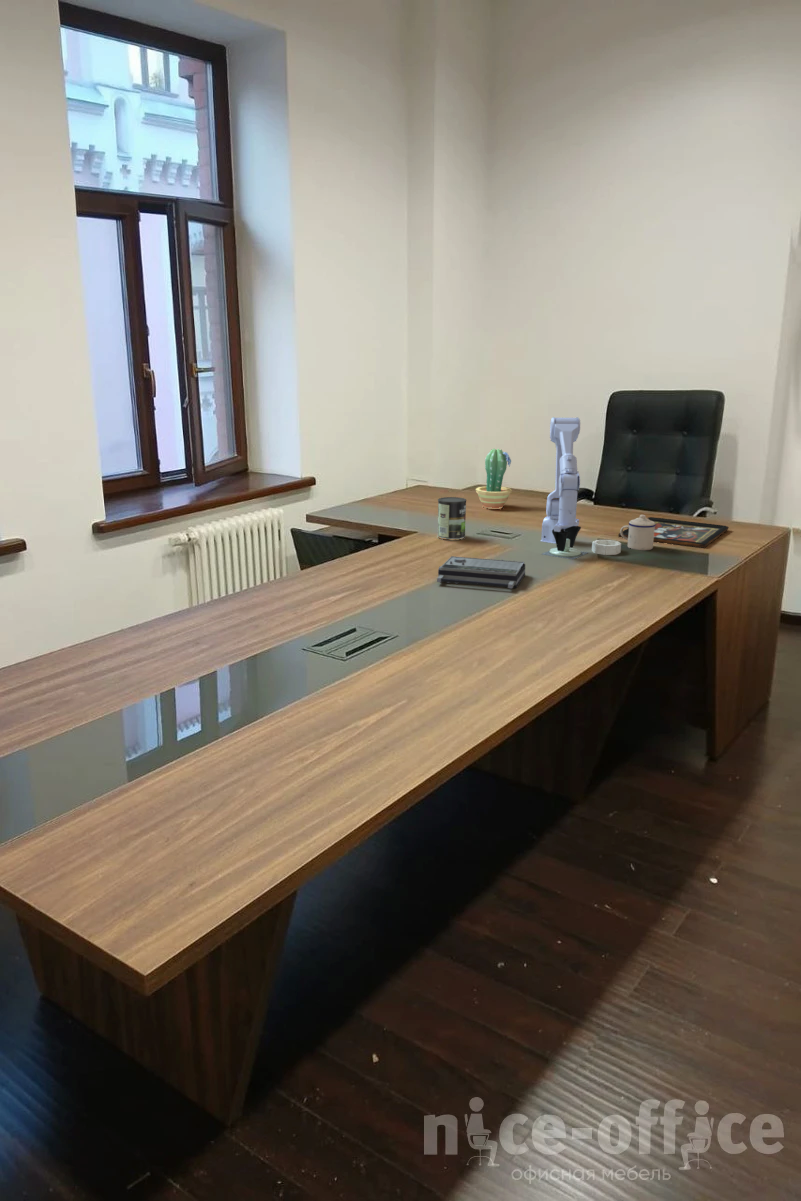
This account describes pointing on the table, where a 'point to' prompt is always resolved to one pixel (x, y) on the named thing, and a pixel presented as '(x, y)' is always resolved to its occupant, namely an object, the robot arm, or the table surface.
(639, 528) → the teacup with lid
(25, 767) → the table surface
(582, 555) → the mat
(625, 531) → the framed painting
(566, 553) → the lid
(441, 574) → the radio
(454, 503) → the coffee can
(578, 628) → the table surface
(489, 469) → the potted cactus
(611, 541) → the bowl
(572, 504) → the robot arm
